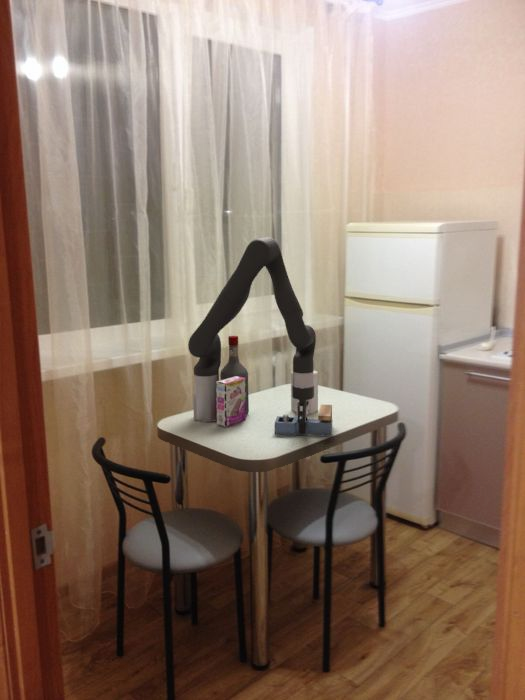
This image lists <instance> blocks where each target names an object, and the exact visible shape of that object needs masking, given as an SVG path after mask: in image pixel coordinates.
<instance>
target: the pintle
mask: <svg viewBox="0 0 525 700" xmlns="http://www.w3.org/2000/svg"><path fill="white" fill-rule="evenodd" d="M282 417H283V422H289V417H290V415H289V414H283V416H282Z"/></svg>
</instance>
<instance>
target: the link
mask: <svg viewBox="0 0 525 700" xmlns="http://www.w3.org/2000/svg"><path fill="white" fill-rule="evenodd" d="M300 419H301V417H300ZM297 420H298V416H289V422H283V416H278V415H277V416H276V419H275V421H274V435H275V436H288V437H291V436H292V437H295V436H296V435H301V436H302V435H303V436H304V435H305V436H322V437H323V436H326V437H329V436H330V437H331V436H333V419H332V420H318V418H308V419H306V423H305V434H300V433H299V423H298V422H297Z"/></svg>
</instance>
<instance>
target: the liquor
mask: <svg viewBox="0 0 525 700" xmlns="http://www.w3.org/2000/svg"><path fill="white" fill-rule="evenodd" d="M235 376H238V377H243V378H246V379H245V382H246V383H245V384H246V385H245V386H246V396H245V398H246V415H248V413H249V411H250V410H249V409H250V406H249V372H248V369H247V368H246V367H245V366H244V365H243V364H242V363H241V362H240V359H239V336H238V335H229V336H228V362H226V364H225V365H224V366H223V367H222V369H220V372H219V381H220V380H224V379H228V378H231V377H235Z"/></svg>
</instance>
